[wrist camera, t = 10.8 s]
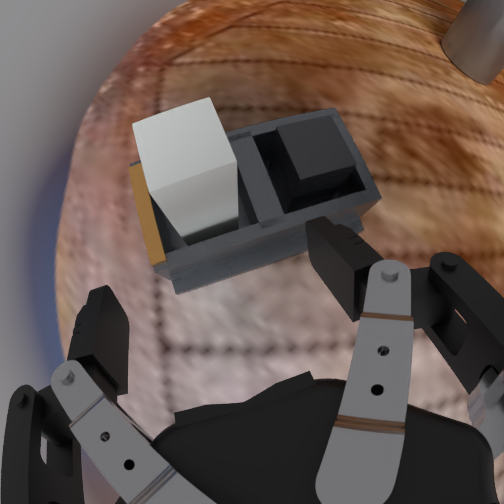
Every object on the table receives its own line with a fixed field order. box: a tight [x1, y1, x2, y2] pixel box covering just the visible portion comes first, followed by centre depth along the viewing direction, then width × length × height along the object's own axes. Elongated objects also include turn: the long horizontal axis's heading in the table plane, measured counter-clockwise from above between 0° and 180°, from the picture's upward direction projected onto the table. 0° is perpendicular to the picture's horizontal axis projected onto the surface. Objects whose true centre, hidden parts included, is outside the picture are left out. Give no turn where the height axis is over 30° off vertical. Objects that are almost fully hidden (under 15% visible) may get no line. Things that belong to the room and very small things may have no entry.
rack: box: [128, 108, 382, 295], centre depth 19 cm, size 14×9×7 cm, turn 109°
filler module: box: [132, 97, 239, 246], centre depth 16 cm, size 4×4×10 cm
